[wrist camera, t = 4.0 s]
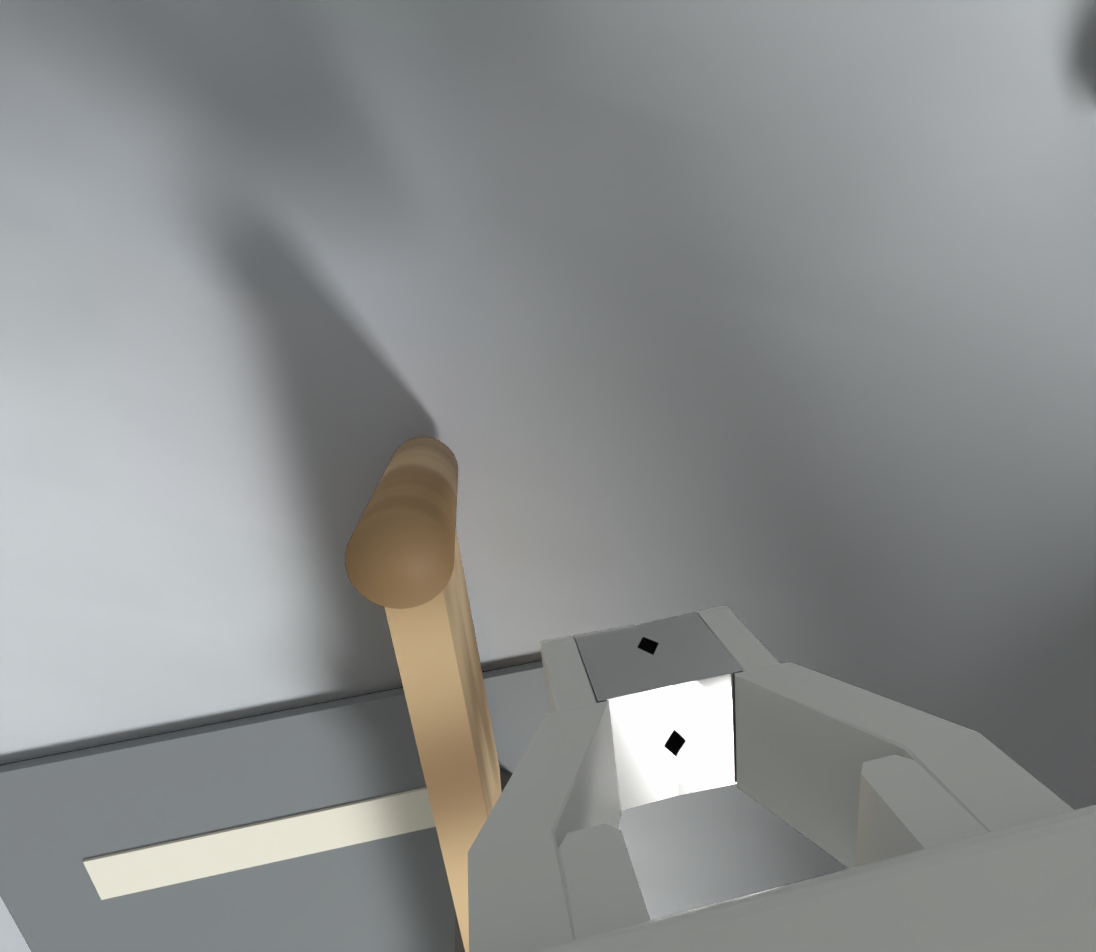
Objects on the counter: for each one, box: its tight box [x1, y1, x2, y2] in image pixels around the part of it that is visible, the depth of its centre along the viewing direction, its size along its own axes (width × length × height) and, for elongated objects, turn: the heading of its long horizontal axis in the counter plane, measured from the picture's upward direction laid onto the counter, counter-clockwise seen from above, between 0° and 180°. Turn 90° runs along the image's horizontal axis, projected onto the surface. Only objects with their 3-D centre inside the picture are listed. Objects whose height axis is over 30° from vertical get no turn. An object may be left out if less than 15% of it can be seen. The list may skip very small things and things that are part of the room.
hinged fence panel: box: [345, 437, 502, 952], centre depth 15 cm, size 12×2×6 cm, turn 7°
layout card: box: [0, 661, 550, 952], centre depth 22 cm, size 20×20×1 cm
